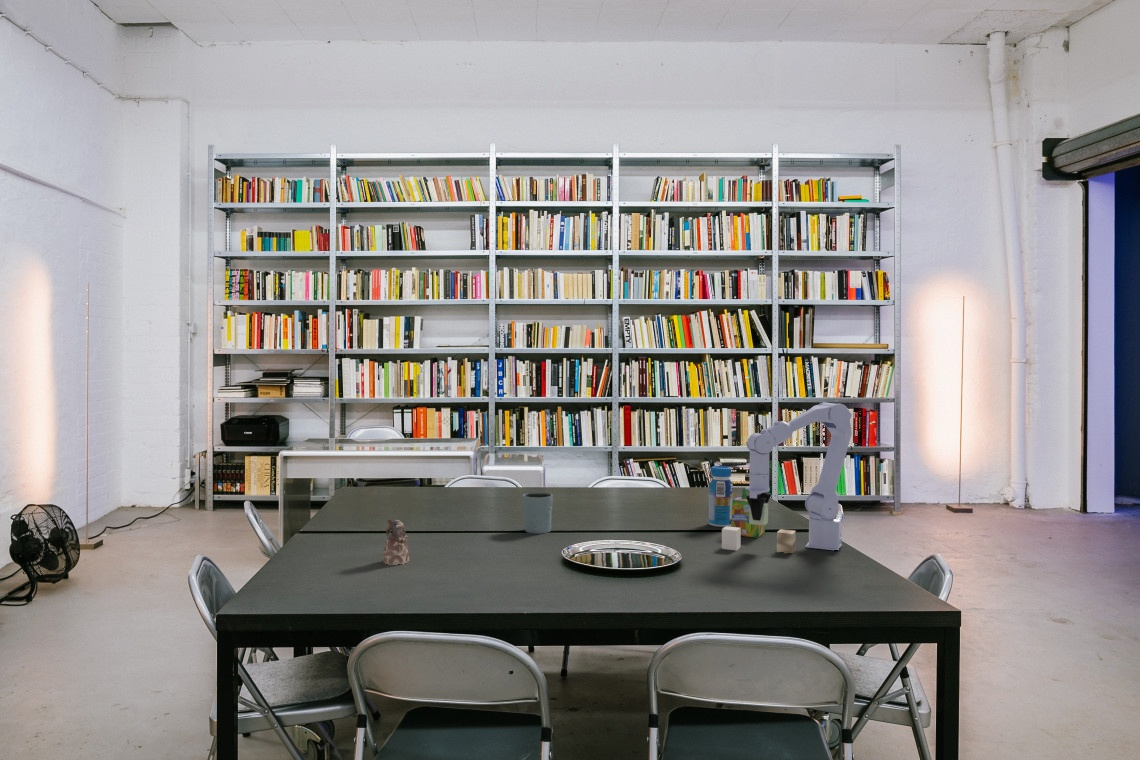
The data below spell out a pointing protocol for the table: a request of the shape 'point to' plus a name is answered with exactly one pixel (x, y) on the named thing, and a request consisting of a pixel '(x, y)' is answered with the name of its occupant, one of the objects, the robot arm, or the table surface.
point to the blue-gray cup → (537, 512)
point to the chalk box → (744, 517)
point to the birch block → (786, 541)
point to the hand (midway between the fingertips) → (758, 518)
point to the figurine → (396, 544)
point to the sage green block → (763, 518)
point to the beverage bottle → (720, 497)
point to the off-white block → (731, 538)
